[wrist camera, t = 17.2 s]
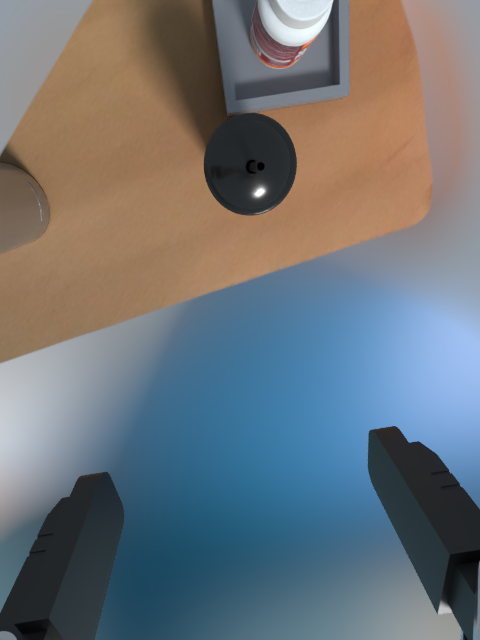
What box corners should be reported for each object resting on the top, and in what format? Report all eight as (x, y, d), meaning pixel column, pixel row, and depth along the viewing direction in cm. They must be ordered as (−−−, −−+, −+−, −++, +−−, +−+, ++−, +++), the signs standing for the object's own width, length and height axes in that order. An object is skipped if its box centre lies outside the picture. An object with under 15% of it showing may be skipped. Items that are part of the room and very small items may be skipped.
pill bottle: (297, 78, 36) (330, 42, 26) (242, 59, 35) (254, 13, 25) (316, 7, 34) (362, -65, 23) (258, -16, 33) (278, -101, 22)
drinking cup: (284, 165, 40) (343, 161, 22) (241, 215, 42) (262, 249, 24) (236, 114, 37) (257, 63, 19) (193, 170, 39) (176, 171, 21)
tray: (226, 116, 37) (227, 113, 35) (205, -40, 32) (205, -56, 30) (341, 99, 38) (349, 94, 35) (339, -60, 32) (348, -78, 30)
